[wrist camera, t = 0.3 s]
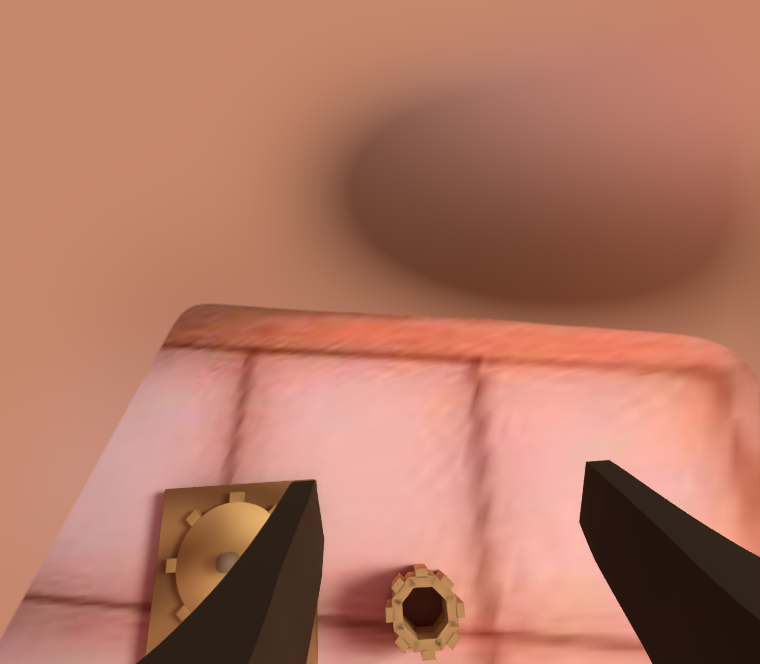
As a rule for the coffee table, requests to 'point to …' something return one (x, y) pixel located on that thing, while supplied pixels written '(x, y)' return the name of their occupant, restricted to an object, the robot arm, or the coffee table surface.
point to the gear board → (206, 548)
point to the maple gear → (424, 636)
